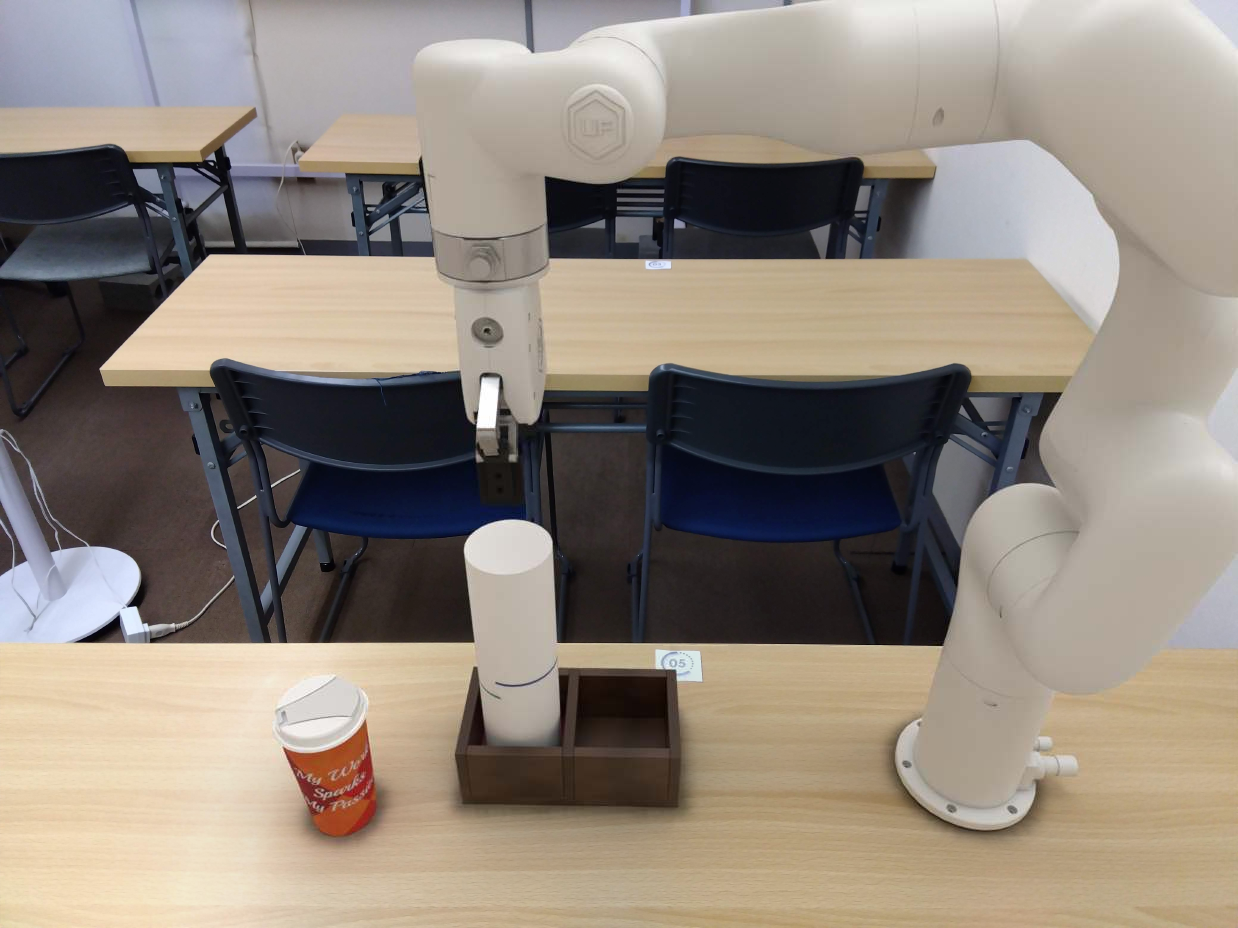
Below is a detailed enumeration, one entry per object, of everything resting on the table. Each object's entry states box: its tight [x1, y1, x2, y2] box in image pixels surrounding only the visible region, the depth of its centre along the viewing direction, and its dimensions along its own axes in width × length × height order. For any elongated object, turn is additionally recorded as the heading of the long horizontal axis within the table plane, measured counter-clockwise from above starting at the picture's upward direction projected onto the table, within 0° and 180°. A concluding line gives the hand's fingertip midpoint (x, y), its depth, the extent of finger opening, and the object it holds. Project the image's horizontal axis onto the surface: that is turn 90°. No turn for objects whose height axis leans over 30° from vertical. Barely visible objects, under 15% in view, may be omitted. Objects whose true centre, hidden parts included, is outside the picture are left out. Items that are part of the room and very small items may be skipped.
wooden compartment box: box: [454, 665, 682, 808], centre depth 82 cm, size 20×10×7 cm, turn 89°
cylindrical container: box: [463, 519, 562, 747], centre depth 76 cm, size 7×7×25 cm
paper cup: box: [271, 674, 378, 837], centre depth 75 cm, size 8×8×14 cm
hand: (511, 466), depth 66 cm, fingers open, 9 cm apart
